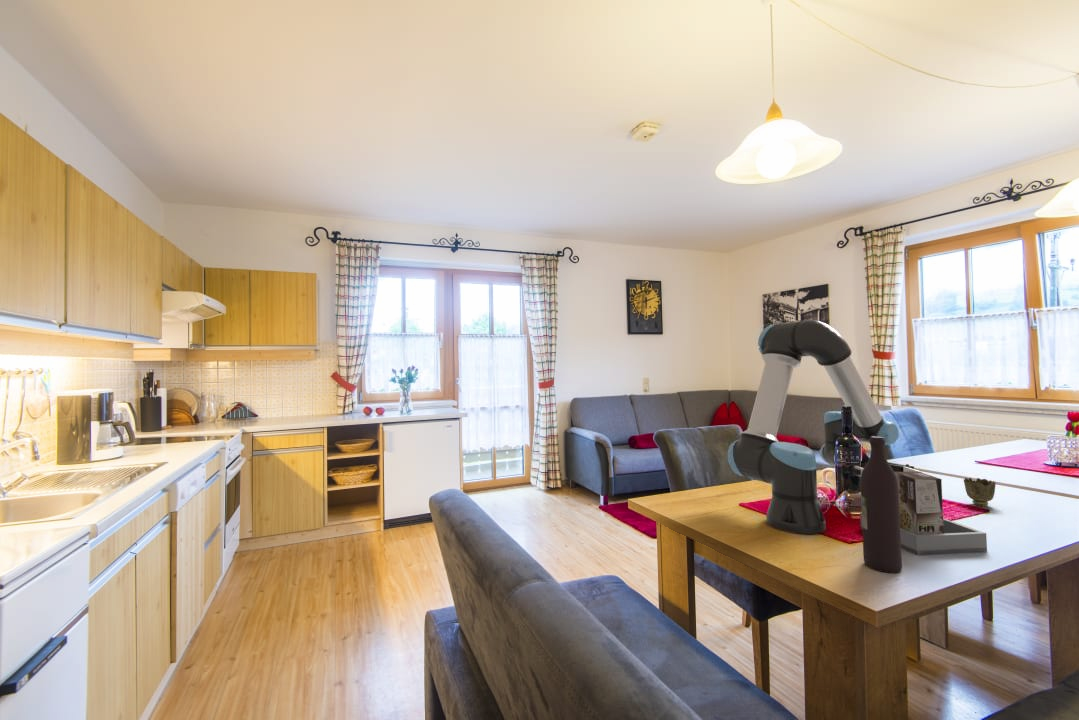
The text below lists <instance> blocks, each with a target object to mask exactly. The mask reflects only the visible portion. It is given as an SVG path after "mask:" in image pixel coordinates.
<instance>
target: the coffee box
mask: <svg viewBox="0 0 1079 720" xmlns="http://www.w3.org/2000/svg"><path fill="white" fill-rule="evenodd" d="M894 473H895V475H896V477H897V481H898V488H899V510H900V528H901V529H904V530H906V531H908V532H911V533H913V534H916V535H924V534H944V527H943V518H944V509H943V505H944V504H943V487H942V484H943V483H942V482H943V481H942V480H943V479H941V478H939V477H935V476H933V475H930V474H927V473H924V472H922V473H921V472H915V471H907V472H894Z"/></svg>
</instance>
